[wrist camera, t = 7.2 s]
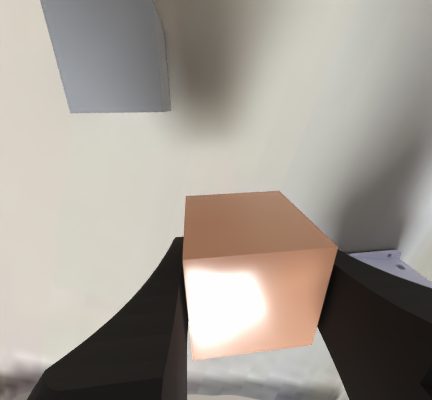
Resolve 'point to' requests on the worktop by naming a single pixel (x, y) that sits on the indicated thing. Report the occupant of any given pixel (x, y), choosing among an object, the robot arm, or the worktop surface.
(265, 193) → the terracotta cube
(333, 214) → the worktop surface
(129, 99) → the slate cube
